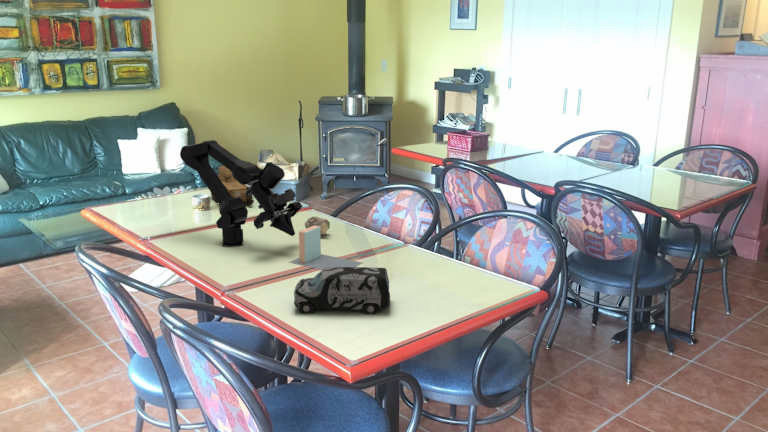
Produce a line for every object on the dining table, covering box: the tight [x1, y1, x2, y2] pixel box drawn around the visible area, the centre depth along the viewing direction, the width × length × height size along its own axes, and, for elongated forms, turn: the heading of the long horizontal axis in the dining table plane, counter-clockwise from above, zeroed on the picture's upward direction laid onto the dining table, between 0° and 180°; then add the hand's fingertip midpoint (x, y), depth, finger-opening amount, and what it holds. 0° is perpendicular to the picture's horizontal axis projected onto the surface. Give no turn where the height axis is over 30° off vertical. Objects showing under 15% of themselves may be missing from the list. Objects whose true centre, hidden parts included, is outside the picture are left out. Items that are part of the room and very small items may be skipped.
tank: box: [210, 165, 255, 206], centre depth 273 cm, size 13×27×15 cm, turn 27°
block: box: [298, 226, 322, 263], centre depth 200 cm, size 2×8×10 cm, turn 149°
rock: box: [304, 216, 331, 237], centre depth 228 cm, size 7×11×10 cm
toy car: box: [293, 266, 391, 315], centre depth 165 cm, size 11×25×10 cm, turn 90°
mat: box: [288, 253, 363, 271], centre depth 199 cm, size 20×12×1 cm, turn 59°
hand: (293, 235), depth 203 cm, fingers closed
